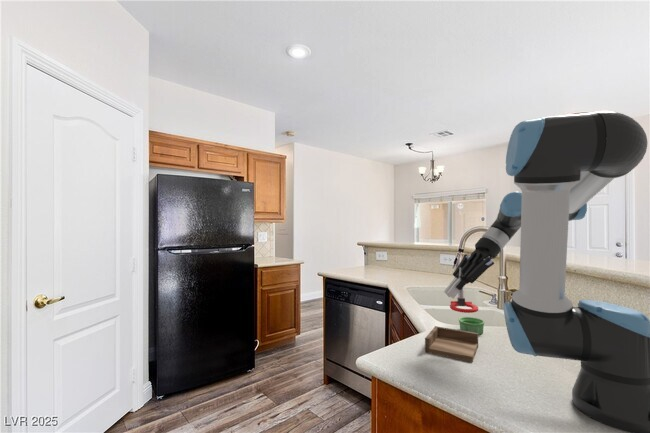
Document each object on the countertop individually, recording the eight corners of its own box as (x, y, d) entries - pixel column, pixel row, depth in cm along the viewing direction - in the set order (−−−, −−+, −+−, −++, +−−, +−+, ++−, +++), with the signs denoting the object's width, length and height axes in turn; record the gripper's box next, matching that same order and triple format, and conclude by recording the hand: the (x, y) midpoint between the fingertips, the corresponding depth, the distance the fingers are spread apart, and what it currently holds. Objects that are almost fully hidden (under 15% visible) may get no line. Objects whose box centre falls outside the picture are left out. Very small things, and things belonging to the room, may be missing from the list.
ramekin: (459, 334, 117) (458, 322, 117) (458, 326, 126) (458, 315, 126) (485, 337, 114) (485, 325, 114) (483, 329, 122) (483, 318, 122)
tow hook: (481, 314, 95) (474, 305, 104) (480, 272, 95) (473, 267, 104) (452, 313, 97) (447, 304, 106) (451, 272, 97) (446, 267, 106)
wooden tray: (472, 362, 93) (472, 346, 93) (425, 352, 101) (425, 338, 101) (478, 346, 105) (477, 333, 105) (435, 338, 113) (435, 326, 113)
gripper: (514, 252, 100) (469, 308, 97) (484, 249, 114) (444, 297, 111) (499, 236, 99) (453, 291, 96) (470, 235, 113) (429, 283, 110)
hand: (448, 295), depth 103 cm, fingers closed on tow hook
